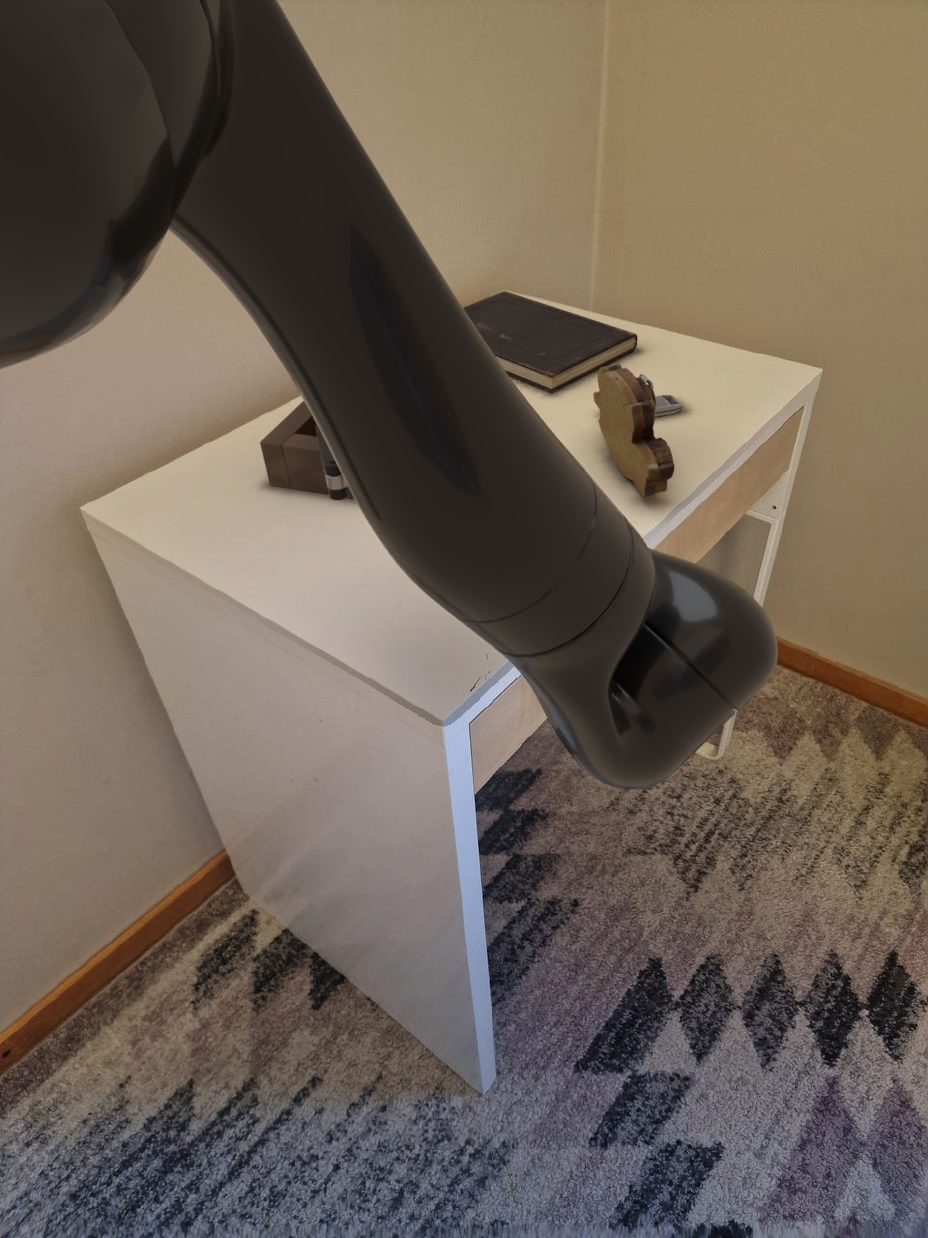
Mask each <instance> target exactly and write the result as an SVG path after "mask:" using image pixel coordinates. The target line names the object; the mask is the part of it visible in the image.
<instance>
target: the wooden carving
mask: <svg viewBox="0 0 928 1238" xmlns="http://www.w3.org/2000/svg"><path fill="white" fill-rule="evenodd" d="M597 371H598V372H597V385H598V390H599V391H595V392H593V401H594V403H595V405H596V407H597V408H598V410H599V418H598V425H599V428H600V432H601V434H602V436H603V439H604V441H605V444H606V446H607V449H608V451H609V454H610V456H611V458H612V460H613V462H614V464H615V466H616V467H617V469H618V470H619V472H620V473H621V474H622V475H623V476H624V477H625V478H626V479H628V480H632V482H633V483H634V485H635V487H636V489H637V491H638V493H639V494H640V496H641V497H642V498H650V497H653V496H656V495H657V494H659V493H665V492H666V491H668V481H669V480H670V479H672V478H673V476H674V473H675V468H676V467H675V463H674V459H673V453H672V450H671V447H670V446H669V444H668V442H667V441H666V440H665V439H664V438H662V437H657V438H656V437H655V431H654V425H655V421H656V420H655V418H656V417H655V415H654V411H655V408H656V406H655V405H656V400H655V396H656V395H655V391H654V388H653V389H652V387H651V386H650V385H649V384H648V383H647V382H645V381H644V380H643V379H641V378H640V377H639V376H638V377H636V376H635V375H634V374H633V372H631V371H630V370H629V369H628V368H626V367H622V365H621V364H619V363H617V364H614V365H612V366H611V365H610V366H609V367H608V366H604V367H602V368H600V369H598V370H597Z"/></svg>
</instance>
